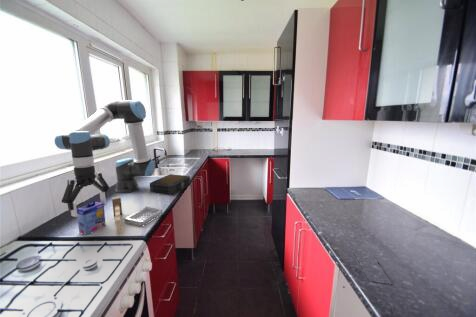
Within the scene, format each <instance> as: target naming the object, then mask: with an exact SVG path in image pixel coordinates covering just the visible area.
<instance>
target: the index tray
mask: <svg viewBox="0 0 476 317" xmlns="http://www.w3.org/2000/svg"><path fill="white" fill-rule="evenodd" d="M162 213H163V209H162V208H156V207H150V206H144V208H141V209H140V210H138V211H136V212H134V213H132V214H130V215H128V216H127V217H125V218H124V223H125V224H126V225H131V224H132V226H136V225H137V226H136V227H141V226H143V225H145V224H146V223H148V222H149V221H151V220H152V219H154V218H155V219H157V218H158V217H160V216H161V215H163V214H162ZM160 214H161V215H160ZM159 215H160V216H159ZM157 216H158V217H157ZM156 217H157V218H156ZM155 219H154V220H155ZM152 221H153V220H152ZM152 221H151V222H152ZM149 223H150V222H149ZM149 223H148V224H149ZM146 225H147V224H146ZM146 225H145V226H146ZM143 227H144V226H143Z"/></svg>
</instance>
